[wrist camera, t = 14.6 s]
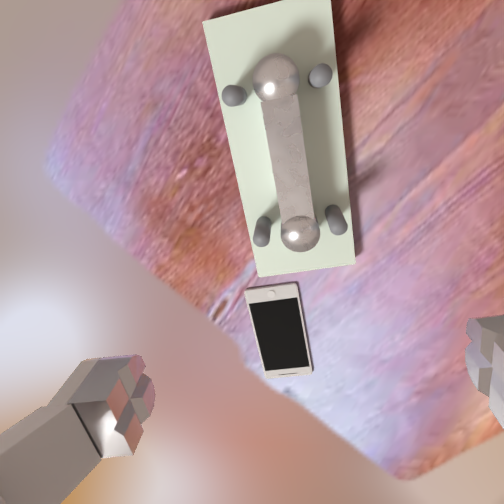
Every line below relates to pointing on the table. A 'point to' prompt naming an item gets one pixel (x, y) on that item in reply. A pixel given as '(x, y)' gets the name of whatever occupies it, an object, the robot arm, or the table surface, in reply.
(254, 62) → the board
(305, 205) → the grey dumbbell
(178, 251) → the table surface
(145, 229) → the table surface
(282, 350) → the smartphone
